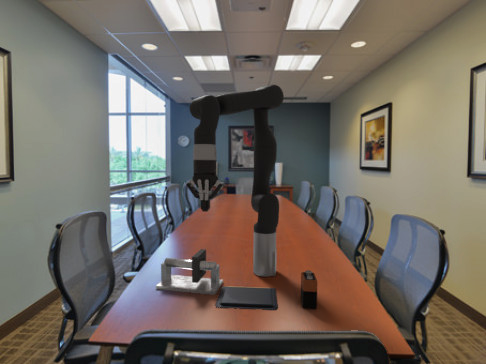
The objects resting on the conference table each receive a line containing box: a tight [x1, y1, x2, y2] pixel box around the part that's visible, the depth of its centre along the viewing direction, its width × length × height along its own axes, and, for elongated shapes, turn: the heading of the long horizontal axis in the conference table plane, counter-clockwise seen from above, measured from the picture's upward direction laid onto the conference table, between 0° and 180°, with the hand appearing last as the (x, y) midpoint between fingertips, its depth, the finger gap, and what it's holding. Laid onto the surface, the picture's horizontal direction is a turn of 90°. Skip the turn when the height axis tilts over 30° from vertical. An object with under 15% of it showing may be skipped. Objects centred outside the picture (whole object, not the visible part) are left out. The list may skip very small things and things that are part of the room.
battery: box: [300, 269, 318, 310], centre depth 88 cm, size 4×7×10 cm, turn 174°
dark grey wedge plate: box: [191, 248, 207, 283], centre depth 100 cm, size 2×9×9 cm, turn 168°
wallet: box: [214, 285, 279, 311], centre depth 93 cm, size 20×2×15 cm
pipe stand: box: [155, 257, 224, 296], centre depth 101 cm, size 22×10×10 cm, turn 78°
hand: (205, 211), depth 92 cm, fingers closed
